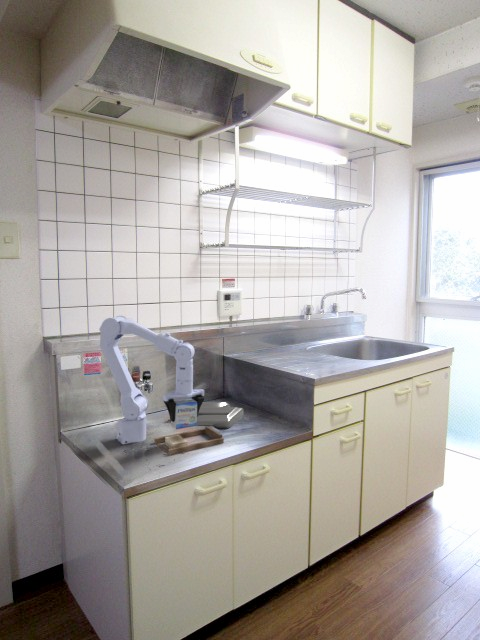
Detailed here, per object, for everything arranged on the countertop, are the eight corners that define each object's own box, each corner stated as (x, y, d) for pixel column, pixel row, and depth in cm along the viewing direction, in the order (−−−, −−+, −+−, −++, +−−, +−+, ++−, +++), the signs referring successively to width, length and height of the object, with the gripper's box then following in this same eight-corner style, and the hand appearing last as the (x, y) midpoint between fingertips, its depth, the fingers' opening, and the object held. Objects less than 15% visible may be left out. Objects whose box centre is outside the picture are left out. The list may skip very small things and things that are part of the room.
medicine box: (175, 429, 143) (175, 404, 142) (170, 425, 147) (170, 400, 146) (197, 426, 147) (197, 401, 146) (191, 422, 151) (191, 397, 150)
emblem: (194, 423, 156) (162, 403, 179) (194, 437, 157) (161, 416, 179) (256, 410, 172) (219, 394, 195) (256, 423, 173) (219, 405, 195)
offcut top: (173, 450, 140) (173, 444, 140) (165, 443, 146) (165, 437, 146) (187, 447, 142) (187, 441, 142) (178, 440, 148) (179, 434, 148)
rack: (169, 459, 136) (169, 447, 136) (154, 446, 146) (154, 435, 146) (223, 447, 147) (223, 435, 147) (206, 435, 157) (206, 425, 157)
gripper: (169, 384, 138) (169, 425, 139) (209, 379, 146) (208, 418, 148) (160, 379, 144) (160, 419, 145) (199, 375, 152) (198, 412, 153)
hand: (183, 418), depth 147 cm, fingers closed on medicine box, 7 cm apart
